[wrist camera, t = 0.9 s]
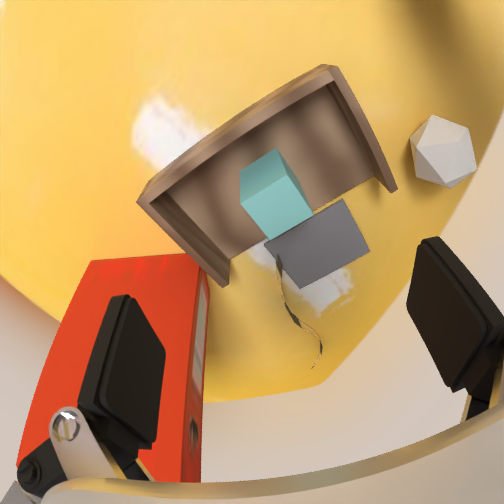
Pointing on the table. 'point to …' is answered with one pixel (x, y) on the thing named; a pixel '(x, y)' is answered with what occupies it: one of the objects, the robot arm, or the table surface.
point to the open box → (254, 147)
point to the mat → (319, 245)
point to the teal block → (273, 195)
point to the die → (442, 152)
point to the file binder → (169, 333)
